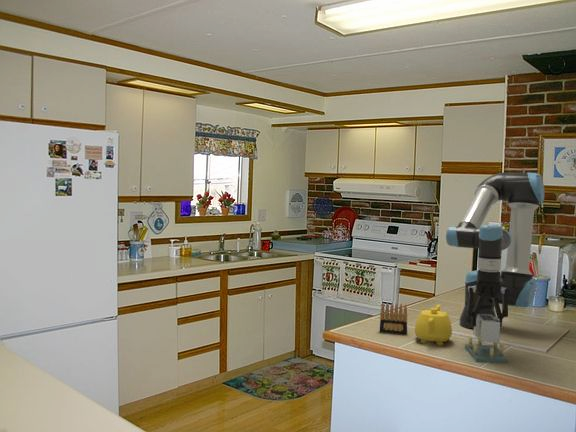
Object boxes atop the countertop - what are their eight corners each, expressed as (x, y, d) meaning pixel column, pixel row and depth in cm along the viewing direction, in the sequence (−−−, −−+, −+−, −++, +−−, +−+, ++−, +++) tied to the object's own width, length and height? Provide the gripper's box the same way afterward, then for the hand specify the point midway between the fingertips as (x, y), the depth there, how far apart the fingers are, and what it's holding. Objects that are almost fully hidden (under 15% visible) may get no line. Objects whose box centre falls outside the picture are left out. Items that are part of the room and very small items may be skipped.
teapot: (454, 335, 210) (456, 304, 209) (448, 350, 192) (449, 316, 191) (420, 331, 215) (421, 300, 215) (410, 345, 197) (411, 311, 196)
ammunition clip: (407, 333, 212) (408, 303, 211) (406, 334, 210) (407, 304, 209) (379, 331, 215) (380, 301, 214) (379, 332, 213) (380, 302, 212)
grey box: (473, 332, 193) (474, 313, 192) (491, 333, 192) (491, 314, 192) (480, 341, 182) (481, 320, 181) (499, 342, 181) (500, 321, 181)
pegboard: (464, 347, 195) (465, 334, 195) (494, 348, 195) (494, 335, 194) (476, 361, 181) (476, 347, 180) (507, 362, 180) (508, 348, 179)
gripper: (463, 271, 182) (460, 338, 184) (521, 272, 181) (518, 340, 183) (458, 267, 190) (455, 331, 191) (513, 269, 189) (510, 334, 190)
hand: (486, 335), depth 187 cm, fingers closed on grey box, 6 cm apart
